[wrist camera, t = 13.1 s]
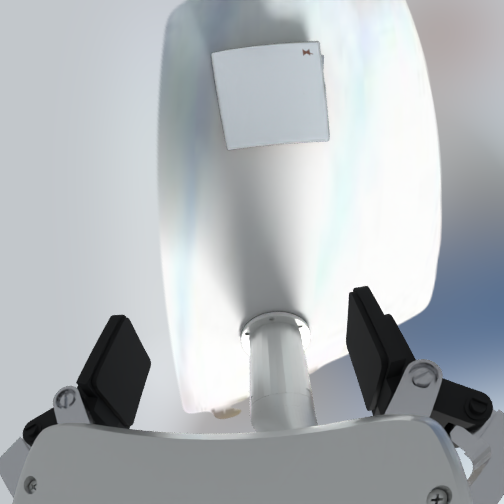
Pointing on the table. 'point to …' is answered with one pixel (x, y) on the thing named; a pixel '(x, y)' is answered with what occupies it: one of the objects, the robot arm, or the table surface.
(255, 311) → the table surface
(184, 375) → the table surface
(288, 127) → the supplement box
